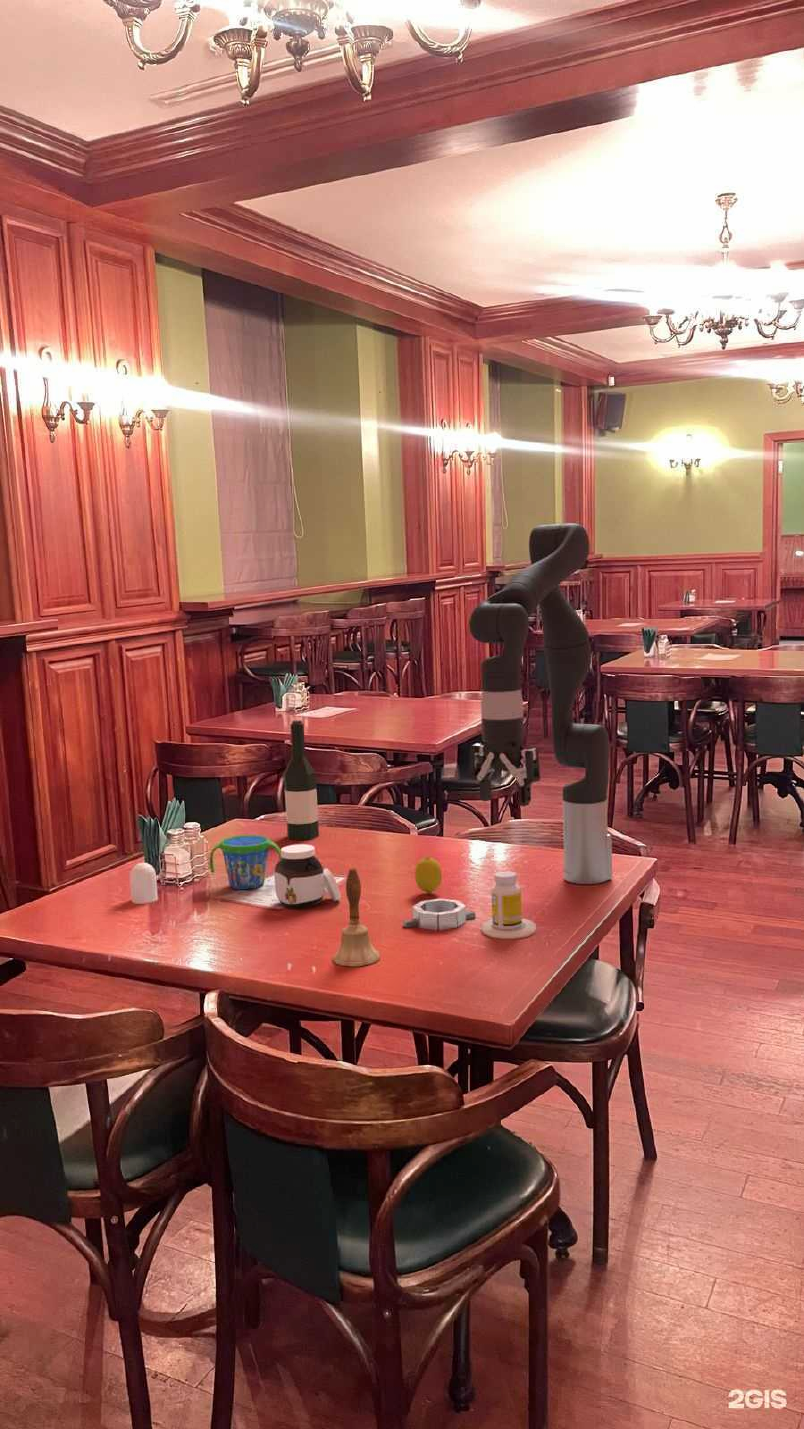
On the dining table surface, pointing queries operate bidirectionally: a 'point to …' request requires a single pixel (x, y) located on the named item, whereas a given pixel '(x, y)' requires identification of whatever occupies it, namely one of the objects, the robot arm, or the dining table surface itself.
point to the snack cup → (245, 859)
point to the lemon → (428, 875)
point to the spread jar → (302, 878)
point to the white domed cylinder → (143, 884)
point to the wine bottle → (300, 790)
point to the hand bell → (355, 931)
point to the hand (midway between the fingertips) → (505, 802)
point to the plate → (509, 930)
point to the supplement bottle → (506, 901)
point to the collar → (439, 914)
